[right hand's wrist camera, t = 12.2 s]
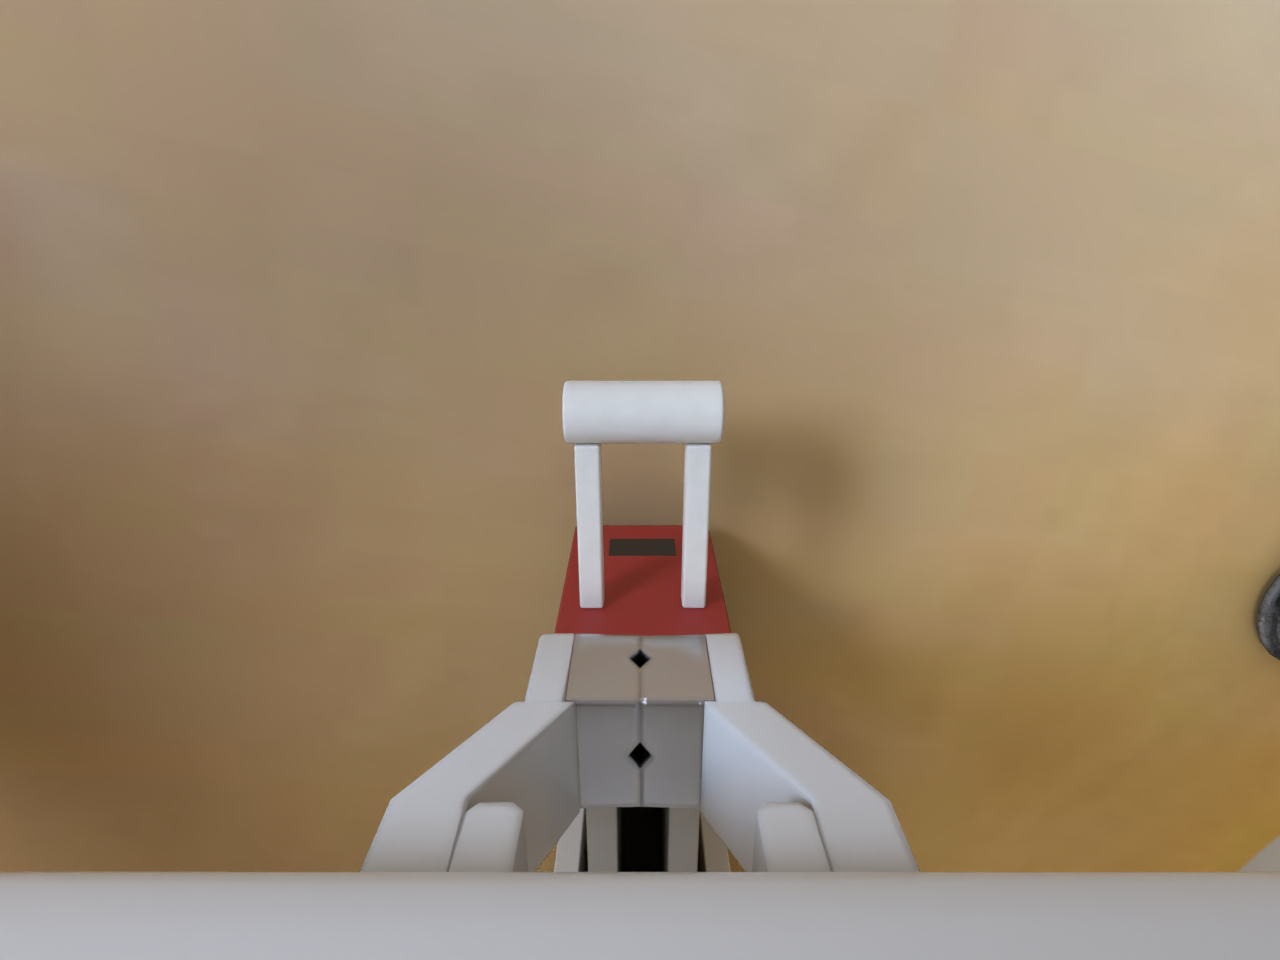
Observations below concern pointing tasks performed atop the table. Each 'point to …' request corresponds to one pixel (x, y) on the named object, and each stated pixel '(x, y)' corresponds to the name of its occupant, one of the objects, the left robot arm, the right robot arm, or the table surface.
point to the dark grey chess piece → (1270, 620)
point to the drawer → (642, 575)
